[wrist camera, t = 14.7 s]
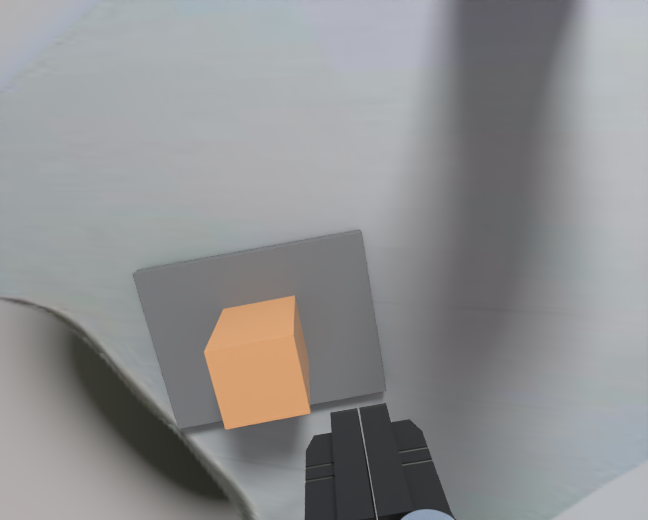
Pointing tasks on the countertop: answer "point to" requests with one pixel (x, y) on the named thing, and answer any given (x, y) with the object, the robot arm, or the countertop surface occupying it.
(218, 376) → the peach foam cube
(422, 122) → the countertop surface
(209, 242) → the countertop surface
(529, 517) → the countertop surface
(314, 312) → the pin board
